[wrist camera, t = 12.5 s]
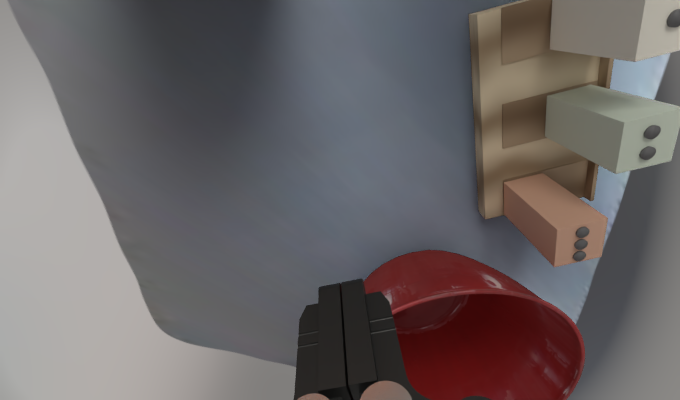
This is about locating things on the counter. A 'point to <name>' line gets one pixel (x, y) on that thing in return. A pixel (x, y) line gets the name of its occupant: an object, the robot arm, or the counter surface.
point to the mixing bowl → (477, 330)
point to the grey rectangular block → (616, 28)
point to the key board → (524, 101)
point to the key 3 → (554, 220)
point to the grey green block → (613, 127)
